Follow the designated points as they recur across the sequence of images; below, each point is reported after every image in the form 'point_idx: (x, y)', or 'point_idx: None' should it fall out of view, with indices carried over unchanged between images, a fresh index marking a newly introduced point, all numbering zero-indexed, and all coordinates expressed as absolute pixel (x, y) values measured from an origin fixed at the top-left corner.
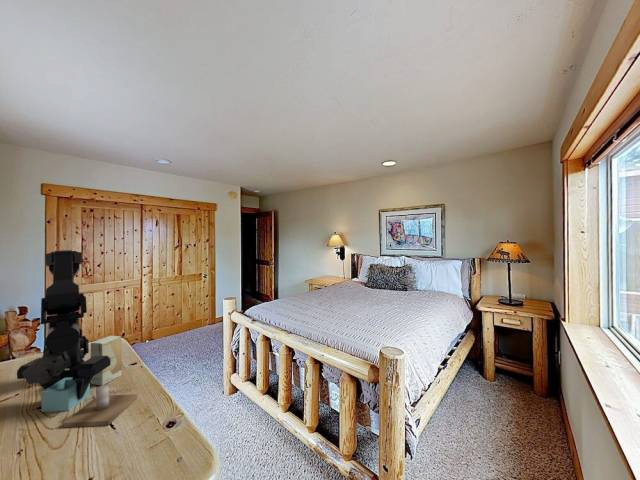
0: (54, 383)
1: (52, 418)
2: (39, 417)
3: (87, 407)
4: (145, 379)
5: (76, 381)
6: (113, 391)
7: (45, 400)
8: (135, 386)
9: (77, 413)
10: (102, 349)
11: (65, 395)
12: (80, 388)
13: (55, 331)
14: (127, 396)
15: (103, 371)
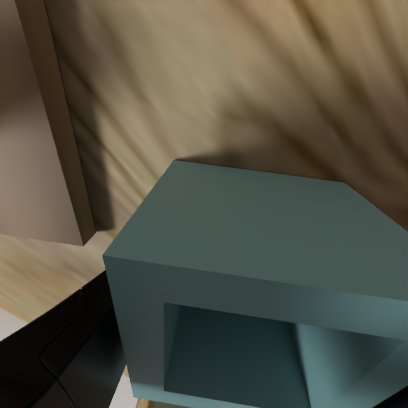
0: (389, 401)
1: (223, 85)
2: (329, 118)
3: (18, 132)
4: (31, 316)
5: (21, 401)
6: (84, 275)
7: (364, 223)
8: (22, 286)
9: (6, 51)
10: None
11: (163, 221)
12: (82, 288)
13: None
14: None
15: (145, 403)
